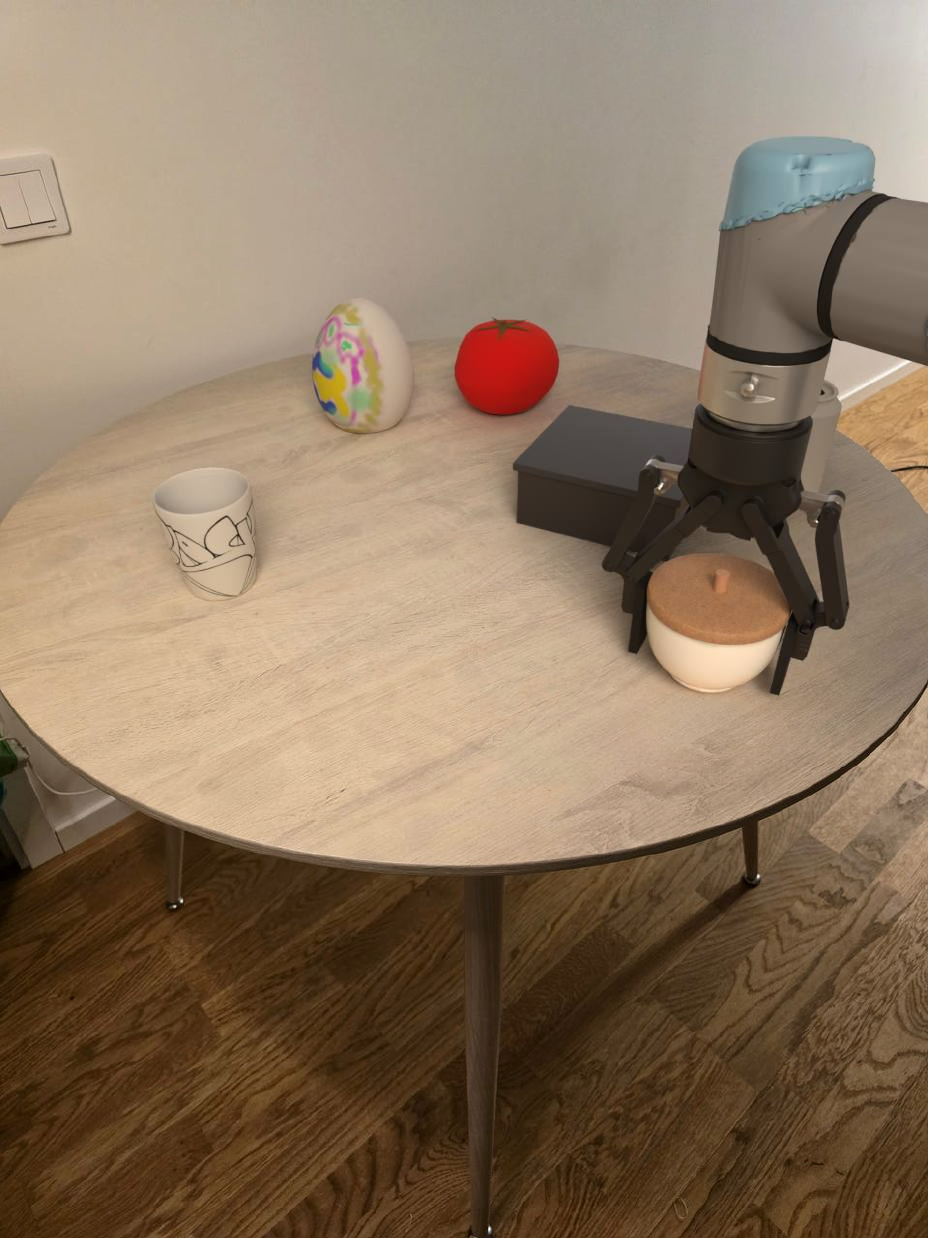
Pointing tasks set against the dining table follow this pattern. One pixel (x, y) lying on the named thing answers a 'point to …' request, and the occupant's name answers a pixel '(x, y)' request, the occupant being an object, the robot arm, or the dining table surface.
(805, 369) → the robot arm
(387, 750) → the dining table surface
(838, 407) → the can
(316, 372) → the decorative egg
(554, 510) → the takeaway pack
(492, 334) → the tomato
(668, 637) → the lidded bowl
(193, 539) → the mug
